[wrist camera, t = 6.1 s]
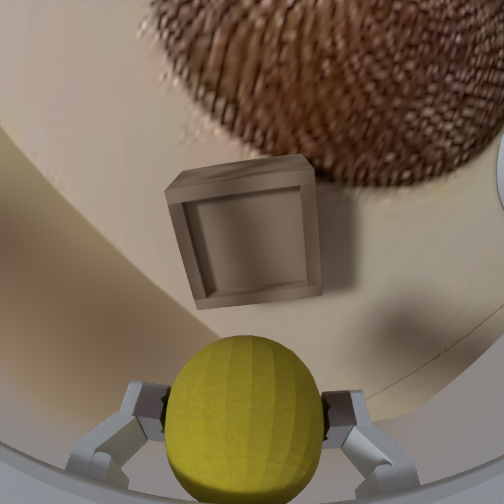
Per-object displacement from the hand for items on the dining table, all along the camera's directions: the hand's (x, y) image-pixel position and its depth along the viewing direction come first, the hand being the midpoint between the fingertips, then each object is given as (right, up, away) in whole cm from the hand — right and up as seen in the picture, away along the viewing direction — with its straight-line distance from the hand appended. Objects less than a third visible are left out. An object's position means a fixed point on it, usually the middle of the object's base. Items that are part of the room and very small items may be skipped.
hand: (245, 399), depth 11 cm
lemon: (0, +1, +3) cm, 3 cm away
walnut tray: (0, +9, +17) cm, 19 cm away
